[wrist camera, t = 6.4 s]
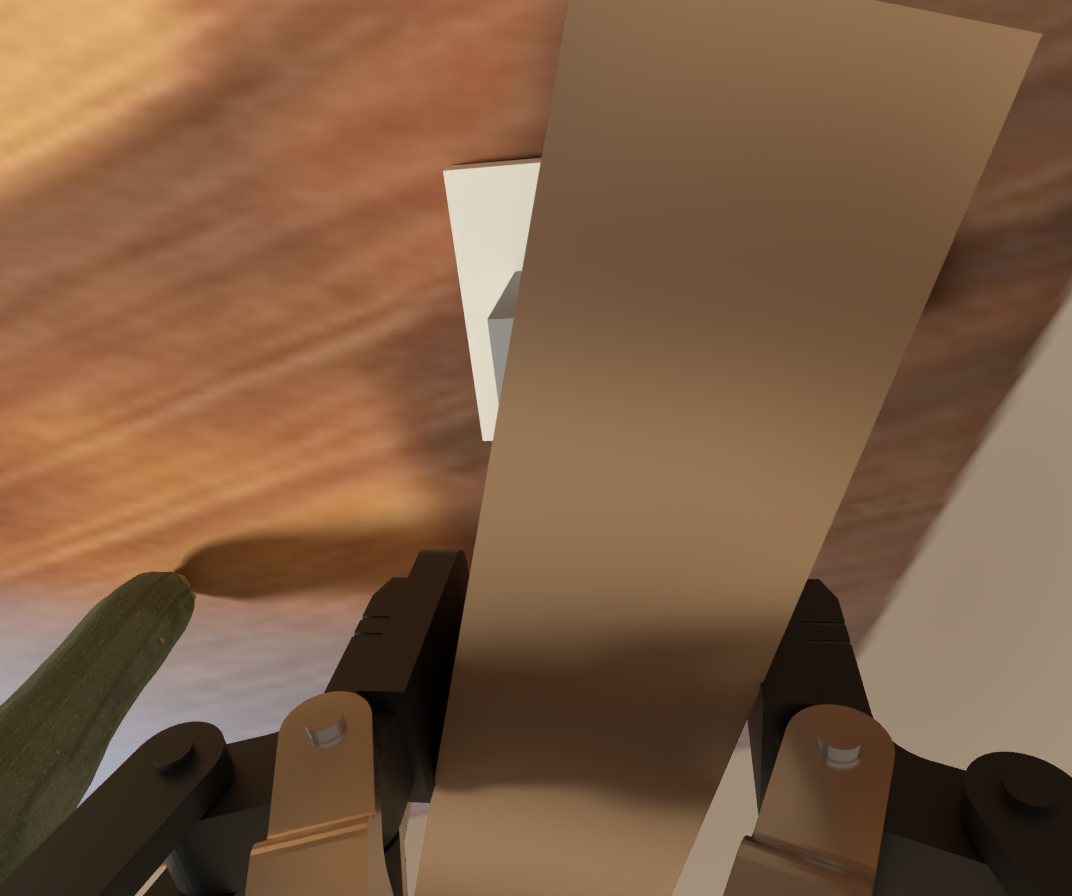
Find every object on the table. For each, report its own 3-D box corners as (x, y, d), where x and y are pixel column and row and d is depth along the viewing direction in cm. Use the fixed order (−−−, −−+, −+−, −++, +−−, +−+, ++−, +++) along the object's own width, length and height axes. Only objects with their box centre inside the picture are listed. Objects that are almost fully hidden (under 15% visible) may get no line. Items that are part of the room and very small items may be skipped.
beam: (607, -38, 11) (578, -59, 7) (916, 24, 10) (1041, 33, 7) (442, 836, 19) (393, 1020, 16) (608, 877, 19) (595, 1070, 16)
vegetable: (153, 520, 37) (-307, 976, 20) (244, 554, 37) (-130, 1036, 20) (142, 591, 39) (-279, 1060, 22) (229, 623, 39) (-121, 1113, 22)
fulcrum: (449, 165, 28) (400, 201, 23) (818, 133, 26) (858, 165, 21) (487, 429, 32) (453, 510, 27) (803, 419, 30) (832, 505, 25)
